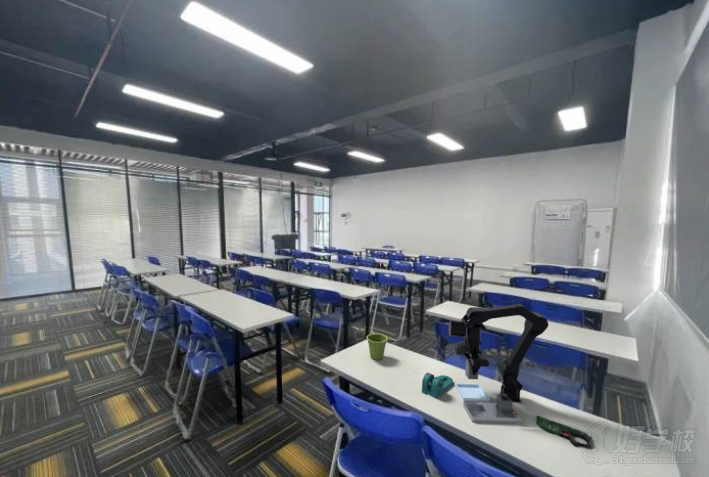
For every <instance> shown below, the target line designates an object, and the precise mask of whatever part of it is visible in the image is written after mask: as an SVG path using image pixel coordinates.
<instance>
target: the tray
mask: <svg viewBox="0 0 709 477" xmlns="http://www.w3.org/2000/svg"><path fill="white" fill-rule="evenodd" d="M453 384H454V387H455V389H456V391H457V393H458V394H459V396H460V398H461V400H462V401H463V402H487V403H491V397H490V396H489V395H488V394H487V393H486V391H485V390H484V388H483V387H482V386H481V384H480V383H467V382H454V383H453Z"/></svg>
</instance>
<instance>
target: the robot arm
mask: <svg viewBox="0 0 709 477" xmlns="http://www.w3.org/2000/svg"><path fill="white" fill-rule="evenodd" d="M515 316H521V317H523V318H524V319H525V320H524V323H523V324H524V325H523V327H524V328H523V331H522V333H521V335H520V336H519V339H518V340H517V342H516V344H515V345H514V347H513V349H512V350H511V353H510V354H509V356H508V357H507V358H506V359H503V358H501V359H500V361H499V363H498V364H497V365H496V367H497V368H496V372H497V374H498V375H499V377H500V379H502V382H501V385H500V392H499V395H502V393H503V392H504V393H506V394H507V395H508V397H509V398H510V399H511V400H512V403H522V402H523V401H522V400H521V391H522V390H523V387H524V386H523V384H522V382H520V381H519V379H518V378H519V375H520V366H521V364H522V363H523V360H524V359H525V357H526V355H527V354H528V352H529V350H530V348H531V347H532V345H533V343H534V341H535V340H536V338H537V337H539V336H541V335H542V334H544V332H545V331H546V330H547V329H548V327H549V325H550V323H549V320H547V318H546V317H544V316H542V315H541V314H539V313H538V312H532V311H530V310H528V309H527V308H526V307H525V306H524V305H522V304H521V303H515V304H509V305H502V306H496V307H488V308H485V307H477V306H476V307H474V306H473V307H472V306H471V307H468V308H467V310H466V311H465V314H464V315H463V316H462V317H461V319H460V320H455V319H449V324H448V328H447V329H448V335H449V336H450V337H461V338H463V341H458V342H454V343H453V344H452V348H453V351H454V353H455V355H457V356H461V355H464V356H465V360H466V359H470V360H469V362H470V363H471V367H472V374H473V375H476V373H477V372H478V373H479V370H480V368H483V367H484V368H485V367H486V368H488V367H489V366H490V361H489V360H488V359H487V358H486V357H485V356H484V355H482V354H483V351H482V350H481V345H483V341H482V340H481V339H482V338H481V336H482V332H481V331H482V330H486V329H487V326H485V325H484V323H486V322H488V321H489V320H493V319H499V318H507V317H508V318H509V317H515ZM470 357H471V358H470Z"/></svg>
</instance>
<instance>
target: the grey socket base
mask: <svg viewBox="0 0 709 477" xmlns="http://www.w3.org/2000/svg"><path fill="white" fill-rule="evenodd" d="M462 407H463V409H464V410H465V412H466V414H467V416H468V417H469V419H470V421H471V422H472V423H489V424H491V423H492V424H515V425H516V424H517V425H519V424H521V421H522V418H521V417H520V415H519V414H518V413H517V412H516V411H515V410H514V409H513V402H512V400H511V399H510V398H509V397H508V395H507V394H506V393H504V392H503V393H502V395H501V394H500V393H499V394H496V402H485V401H463V404H462Z"/></svg>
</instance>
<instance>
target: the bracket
mask: <svg viewBox="0 0 709 477" xmlns="http://www.w3.org/2000/svg"><path fill="white" fill-rule="evenodd" d="M453 384H454V379H453V378H452V377H450V376H448V375H441V374H440V375H438V376H435V375H434V374H433V373H430V372H426V373H425V374H424V375H423V378H422V382H421V393H422V394H424V395H425V396H429V397H431V398H433V399H437V398H438V397H439V396H441V395H443V393H444V392H446V391H447V390H448V389H449V388H451V387H452V386H453Z"/></svg>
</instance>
